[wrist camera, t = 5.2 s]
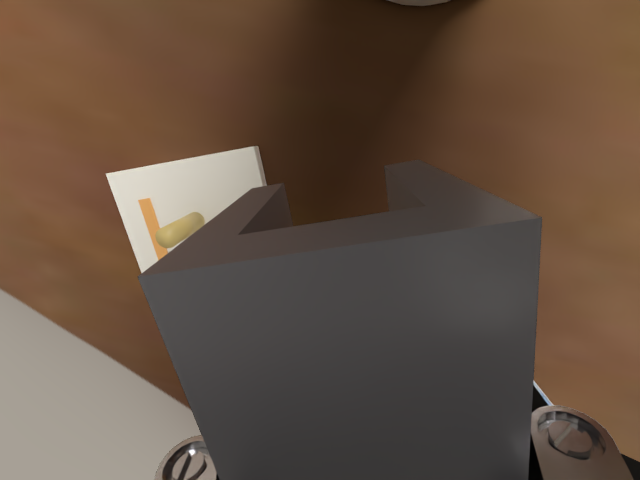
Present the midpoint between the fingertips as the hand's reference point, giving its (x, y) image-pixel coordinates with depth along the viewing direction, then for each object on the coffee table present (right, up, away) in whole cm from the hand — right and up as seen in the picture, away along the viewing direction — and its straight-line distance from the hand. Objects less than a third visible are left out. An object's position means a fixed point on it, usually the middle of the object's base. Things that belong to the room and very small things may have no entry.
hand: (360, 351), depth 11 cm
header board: (-9, +2, +13) cm, 16 cm away
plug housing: (0, +1, +1) cm, 1 cm away
